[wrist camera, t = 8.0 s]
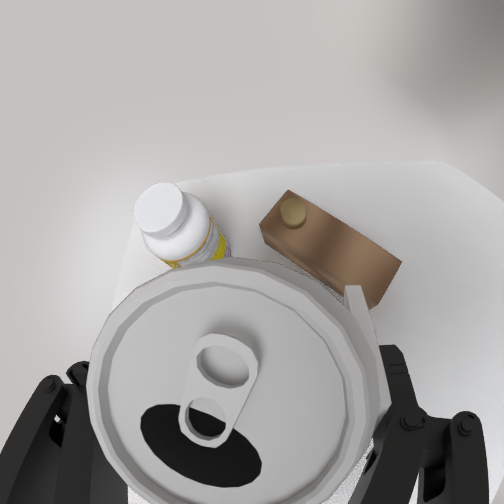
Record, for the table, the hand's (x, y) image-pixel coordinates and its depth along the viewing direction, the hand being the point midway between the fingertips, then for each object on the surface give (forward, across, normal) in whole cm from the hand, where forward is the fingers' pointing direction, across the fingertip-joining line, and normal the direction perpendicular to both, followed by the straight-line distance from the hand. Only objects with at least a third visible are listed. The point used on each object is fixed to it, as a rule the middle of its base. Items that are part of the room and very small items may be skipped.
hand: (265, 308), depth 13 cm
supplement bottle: (+18, -10, -6) cm, 21 cm away
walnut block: (+17, +5, -6) cm, 19 cm away
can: (0, 0, -5) cm, 5 cm away
